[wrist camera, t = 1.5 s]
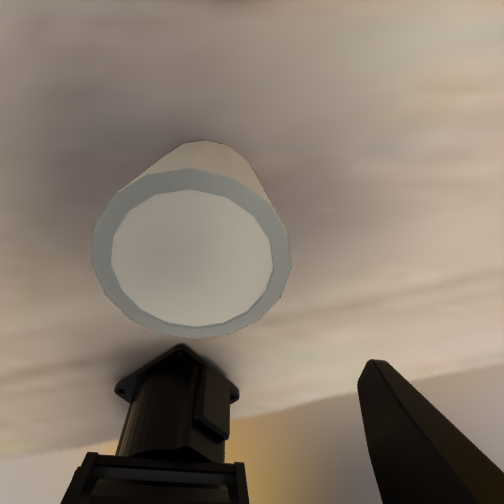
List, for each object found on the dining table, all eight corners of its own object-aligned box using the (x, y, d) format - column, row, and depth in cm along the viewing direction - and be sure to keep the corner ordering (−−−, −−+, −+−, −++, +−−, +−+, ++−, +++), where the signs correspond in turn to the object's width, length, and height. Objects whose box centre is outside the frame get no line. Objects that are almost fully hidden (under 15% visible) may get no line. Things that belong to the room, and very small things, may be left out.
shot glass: (110, 192, 18) (46, 264, 11) (205, 93, 16) (188, 117, 9) (206, 273, 20) (196, 367, 14) (298, 199, 18) (331, 270, 12)
